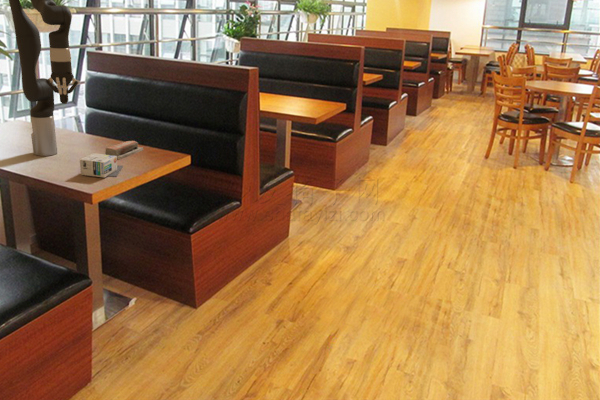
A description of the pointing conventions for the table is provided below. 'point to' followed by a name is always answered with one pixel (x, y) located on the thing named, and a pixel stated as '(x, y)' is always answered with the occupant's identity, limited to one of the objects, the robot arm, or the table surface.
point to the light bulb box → (98, 165)
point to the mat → (115, 172)
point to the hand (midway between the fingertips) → (64, 103)
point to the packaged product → (123, 149)
